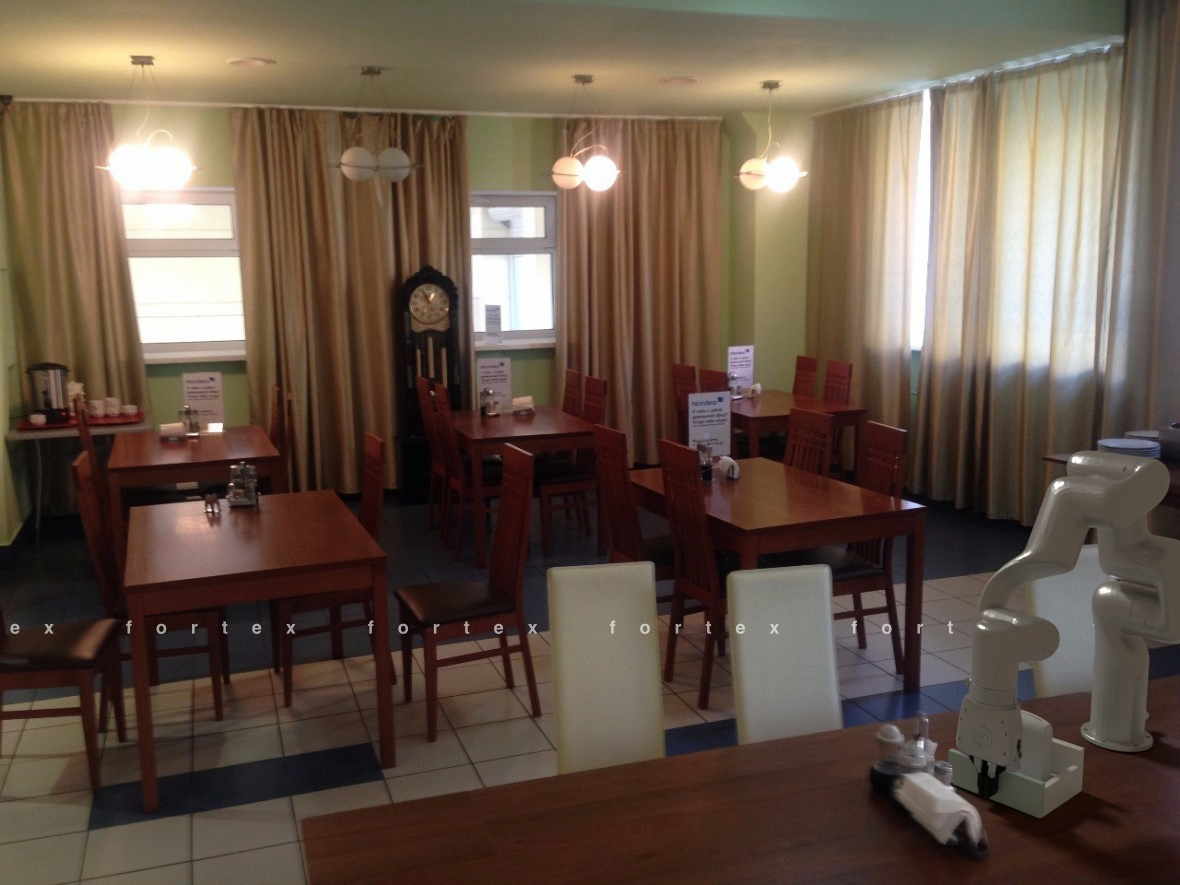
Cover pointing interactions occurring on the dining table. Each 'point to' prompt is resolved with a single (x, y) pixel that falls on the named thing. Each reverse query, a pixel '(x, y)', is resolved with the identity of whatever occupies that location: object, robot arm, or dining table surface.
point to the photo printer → (1036, 747)
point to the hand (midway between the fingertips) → (987, 794)
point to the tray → (1002, 785)
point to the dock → (1063, 774)
